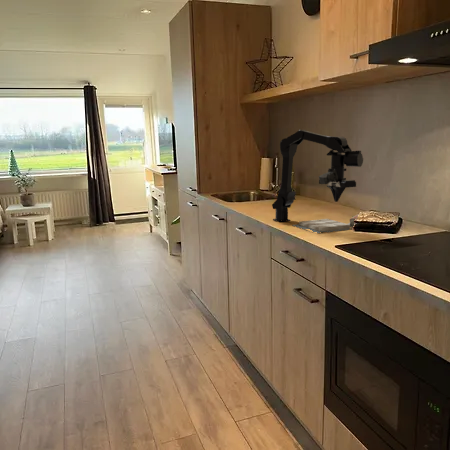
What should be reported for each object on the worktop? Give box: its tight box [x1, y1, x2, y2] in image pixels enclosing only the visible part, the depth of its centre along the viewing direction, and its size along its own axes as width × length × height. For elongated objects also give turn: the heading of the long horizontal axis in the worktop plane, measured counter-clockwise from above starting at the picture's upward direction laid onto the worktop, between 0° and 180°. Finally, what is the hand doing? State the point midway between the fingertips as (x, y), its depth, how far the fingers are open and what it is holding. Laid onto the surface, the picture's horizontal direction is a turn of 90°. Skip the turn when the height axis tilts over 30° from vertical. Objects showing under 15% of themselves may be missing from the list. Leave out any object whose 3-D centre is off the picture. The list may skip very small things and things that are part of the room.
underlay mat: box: [291, 223, 353, 234], centre depth 189 cm, size 19×19×1 cm
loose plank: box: [298, 219, 339, 231], centre depth 189 cm, size 16×10×2 cm, turn 24°
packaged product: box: [347, 213, 360, 228], centre depth 195 cm, size 18×5×10 cm
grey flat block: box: [318, 218, 351, 229], centre depth 192 cm, size 16×6×2 cm, turn 24°
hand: (336, 201), depth 185 cm, fingers closed
